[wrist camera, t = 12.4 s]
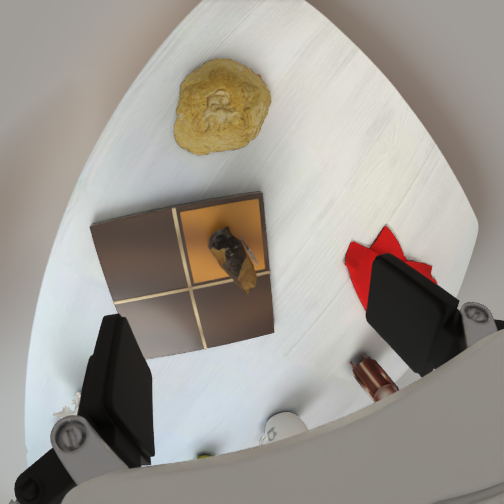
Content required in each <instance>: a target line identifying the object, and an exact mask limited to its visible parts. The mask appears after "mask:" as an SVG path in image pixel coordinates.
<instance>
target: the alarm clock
mask: <svg viewBox="0 0 504 504" xmlns="http://www.w3.org/2000/svg"><path fill="white" fill-rule="evenodd" d="M363 355H364V357H365V360H363V361H362V362H361V363H359V364H358V365H357V366H355V365H354V364H353V363H352V362H350V364H351V365H352V367H353V369H354V370H353V375H354V377H355V379H356V380H357V381H358V383H359V384H360V386H361V387H362V388H363V389H364V391H365V392H366V393H367V394H368V396H369V397H370V398H371V399H372V400H373V402H374V403H376V402H378V401H380V400H382V399H384V398H386V397H388V396H389V395H391V394H393V393H395V392H397V391H399V389H398V387H397V386H396V385H395V383H394V382H393V381H392V380H391V378H390V377H389V376H388V375H387V373H386V372H385V371H384V370H383V369H382V367H381V366H380V365H379V364H378V363H377V362H376V361H375V360H373V359H371V358H370V357H367V356H366V355H365V353H363Z"/></svg>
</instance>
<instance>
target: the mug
mask: <svg viewBox="0 0 504 504" xmlns="http://www.w3.org/2000/svg"><path fill="white" fill-rule="evenodd" d="M306 431H308V429H307V427H306V425H305V424H304V422H303V421H302V420H301V419H300V418H299V417H298V416H297V415H296V414H294V413H291V412H282V413H278V414H276V415H274V416H272V417H271V418H270V419H269V420H268V421H267V423H266V425H265V435H263V436H262V437H261V439H260V441H259V446H260V445H262V443H263V440H264V439H265V438H266V441H267V444H268V443H271V442H274V441H278V440H281V439H284V438H288V437H291V436H294V435H297V434H300V433H303V432H306Z"/></svg>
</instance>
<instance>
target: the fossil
mask: <svg viewBox="0 0 504 504" xmlns="http://www.w3.org/2000/svg"><path fill="white" fill-rule="evenodd" d="M270 103H271V95H270V91H269V90H268V89H267V85H266V83H265V82H264V81H263V80H262V78H261V76H260V75H258V74H255V73H254V72H253V71H252V70H251V69H250V68H248V67H247V66H245V65H243V64H240V63H239V62H236V61H234V60H231V59H213V60H210V61H208V62H206V63H204V64H203V65H202V66H201V67H199V68H198V69H196V70H194V71H193V72H192V73H191V74H189V75H187V77H186V78H185V80H184V81H183V82H182V84H181V86H180V97H179V101H178V106H177V109H176V113H177V115H178V117H177V120H176V122H175V124H174V136H175V140H176V141H177V143H178V145H179V146H180V147H181V148H183V149H186V150H188V151H189V152H191V153H193V154H196V155H207V154H209V153H210V152H219V151H225V150H236V149H239V148H242V147H244V146H246V145H247V144H248V143H249V141H250V140H253V139H255V138H256V136H257V135H258V134H259V132H260V129H261V125H262V124H263V121H264V119H265V117H266V116H267V114H268V107H269V106H270Z"/></svg>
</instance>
